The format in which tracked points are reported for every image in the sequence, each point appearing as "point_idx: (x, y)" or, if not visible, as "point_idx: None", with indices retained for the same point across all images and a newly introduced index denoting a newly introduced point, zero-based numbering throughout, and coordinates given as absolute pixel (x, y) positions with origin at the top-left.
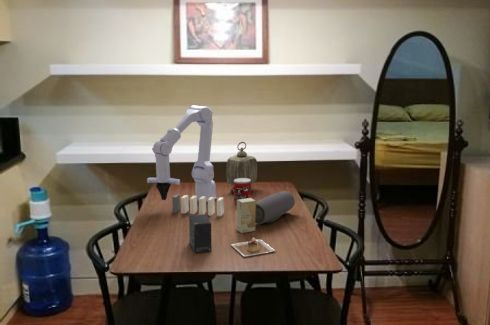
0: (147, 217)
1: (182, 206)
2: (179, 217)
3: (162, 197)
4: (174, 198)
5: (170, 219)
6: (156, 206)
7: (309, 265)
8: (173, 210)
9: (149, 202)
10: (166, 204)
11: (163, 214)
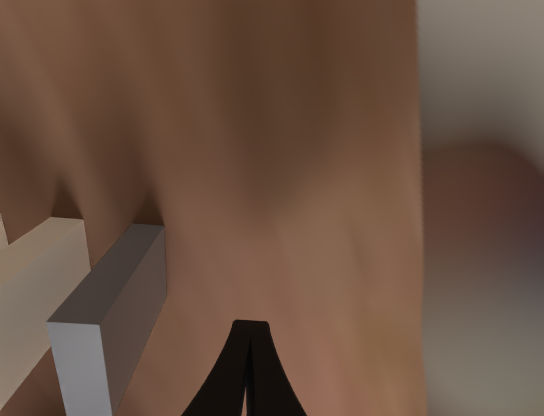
0: (347, 65)
1: (30, 251)
2: (41, 108)
3: (255, 338)
4: (73, 311)
5: (95, 31)
6: (346, 341)
7: None
8: (150, 234)
9: (415, 403)
10: None
11: (226, 173)
